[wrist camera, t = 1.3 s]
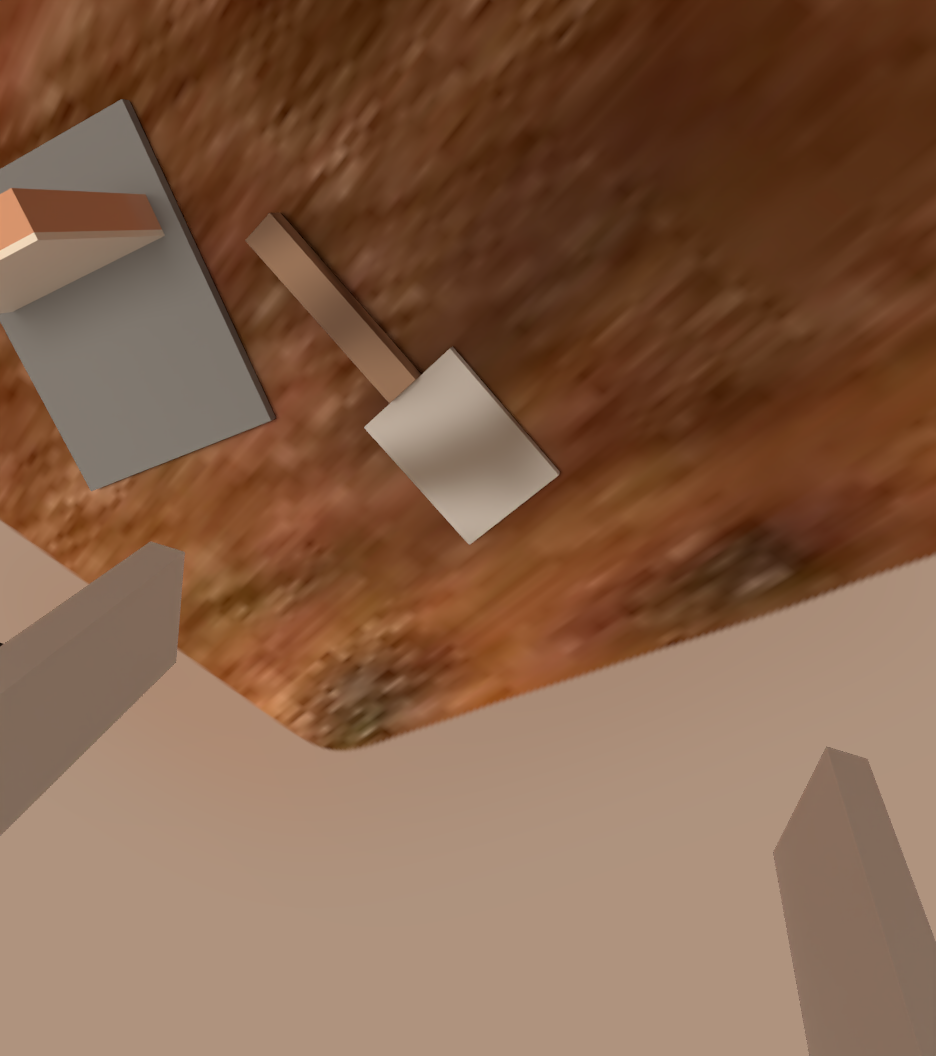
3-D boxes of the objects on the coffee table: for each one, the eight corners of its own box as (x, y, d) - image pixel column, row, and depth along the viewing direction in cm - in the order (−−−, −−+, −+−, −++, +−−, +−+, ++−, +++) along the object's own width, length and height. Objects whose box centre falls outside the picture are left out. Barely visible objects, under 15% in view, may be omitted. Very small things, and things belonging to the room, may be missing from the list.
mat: (-53, 205, 42) (-63, 205, 42) (129, 100, 38) (122, 99, 38) (97, 487, 46) (91, 491, 46) (275, 418, 43) (271, 420, 42)
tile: (-8, 274, 42) (-167, 287, 34) (145, 194, 39) (11, 187, 31) (12, 311, 43) (-140, 333, 35) (164, 235, 40) (37, 240, 32)
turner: (229, 270, 40) (217, 271, 39) (309, 180, 38) (299, 179, 37) (471, 540, 43) (467, 549, 42) (560, 471, 41) (557, 478, 40)
